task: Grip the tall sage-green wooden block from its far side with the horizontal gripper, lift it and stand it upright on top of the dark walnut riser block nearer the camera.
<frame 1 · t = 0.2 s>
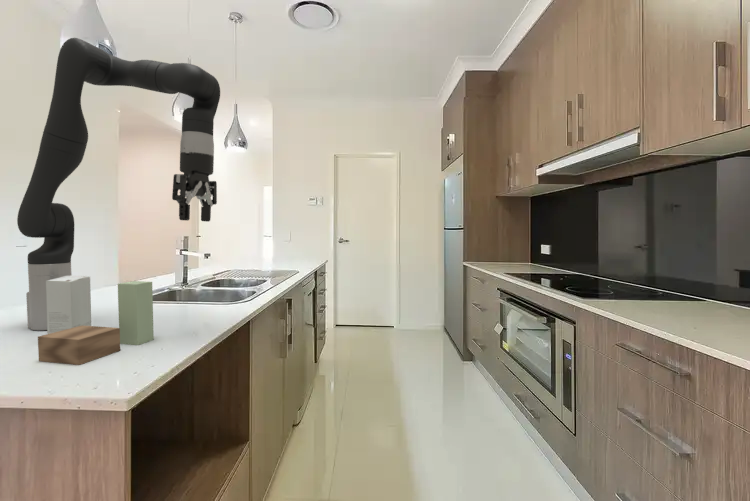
hand: (195, 220, 104), 29 cm above the worktop, tool pointing down, fingers open, 8 cm apart
sage block: (136, 341, 101), on the worktop
skincare box: (70, 338, 104), on the worktop
walnut riser block: (81, 355, 90), on the worktop
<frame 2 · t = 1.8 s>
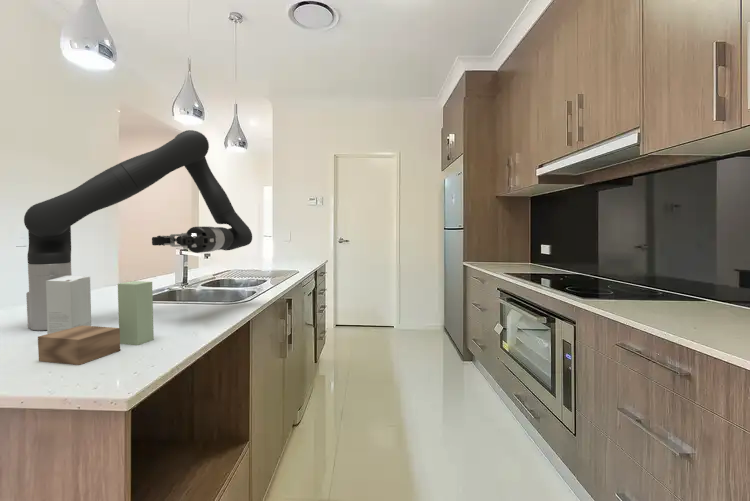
hand: (167, 241, 111), 23 cm above the worktop, tool horizontal, fingers open, 8 cm apart
nothing on the worktop moved.
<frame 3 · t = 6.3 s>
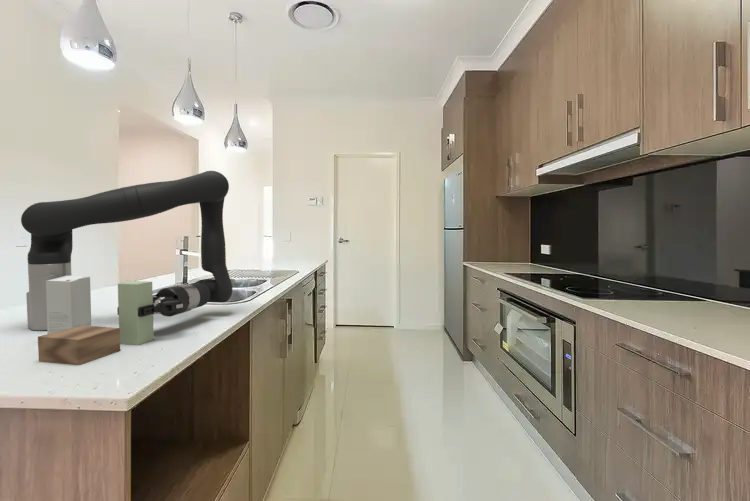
hand: (129, 311, 99), 8 cm above the worktop, tool horizontal, fingers closed on sage block, 5 cm apart
sage block: (137, 341, 101), on the worktop, touching gripper
everything else where it was.
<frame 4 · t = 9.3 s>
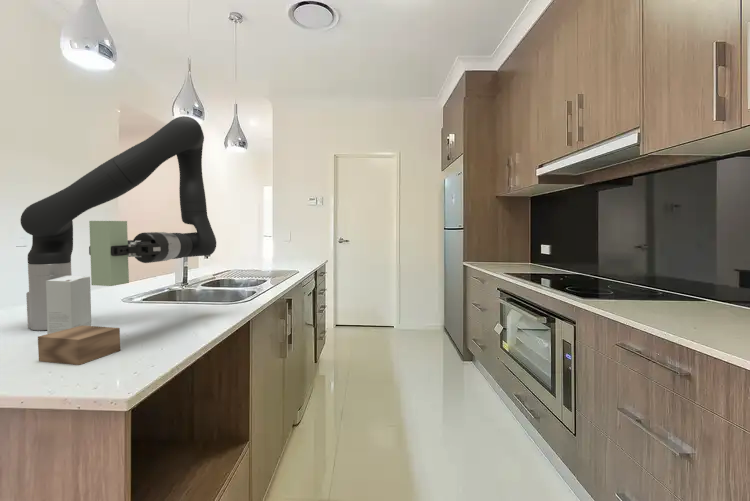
hand: (101, 250, 93), 22 cm above the worktop, tool horizontal, fingers closed on sage block, 5 cm apart
sage block: (110, 284, 95), point 14 cm above the worktop, touching gripper
everything else where it was.
when the fingers open (14 cm above the worktop, at t = 12.5 s): sage block drops 1 cm, resting on walnut riser block.
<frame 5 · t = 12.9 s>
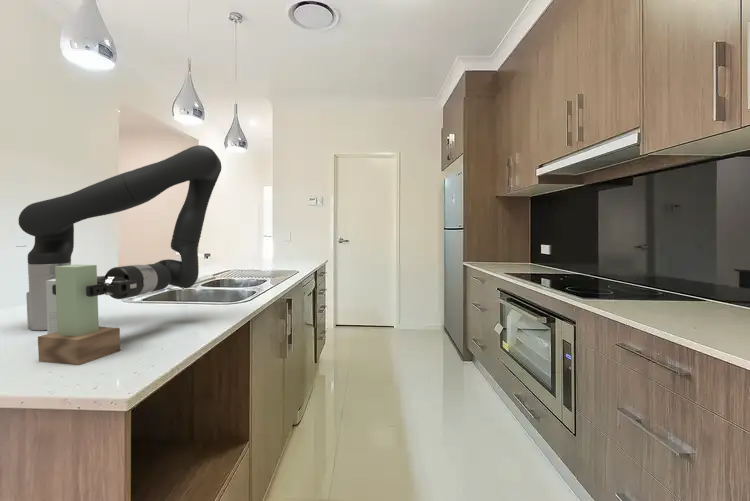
hand: (70, 290, 88), 14 cm above the worktop, tool horizontal, fingers open, 8 cm apart
sage block: (78, 332, 90), point 5 cm above the worktop, touching walnut riser block
everything else where it was.
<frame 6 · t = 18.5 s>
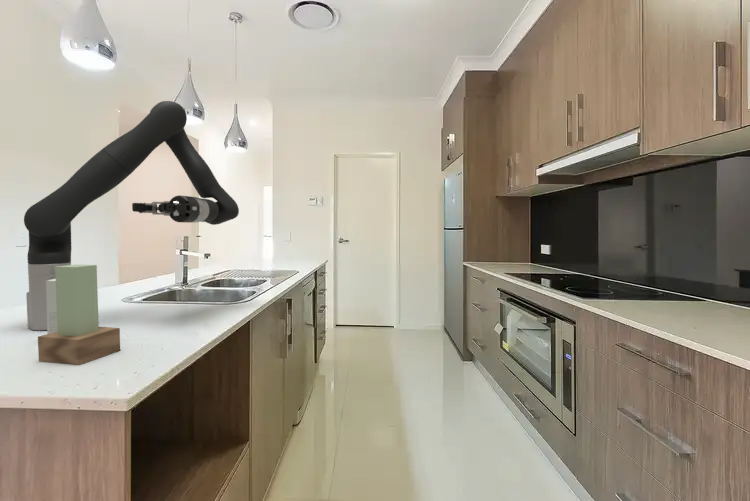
hand: (147, 207, 108), 32 cm above the worktop, tool horizontal, fingers open, 8 cm apart
nothing on the worktop moved.
at the end: sage block inside the target area on the walnut riser block (0.4 cm from its centre), point 5.0 cm above the walnut riser block's base; sage block tilted 0°; the gripper is holding nothing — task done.
